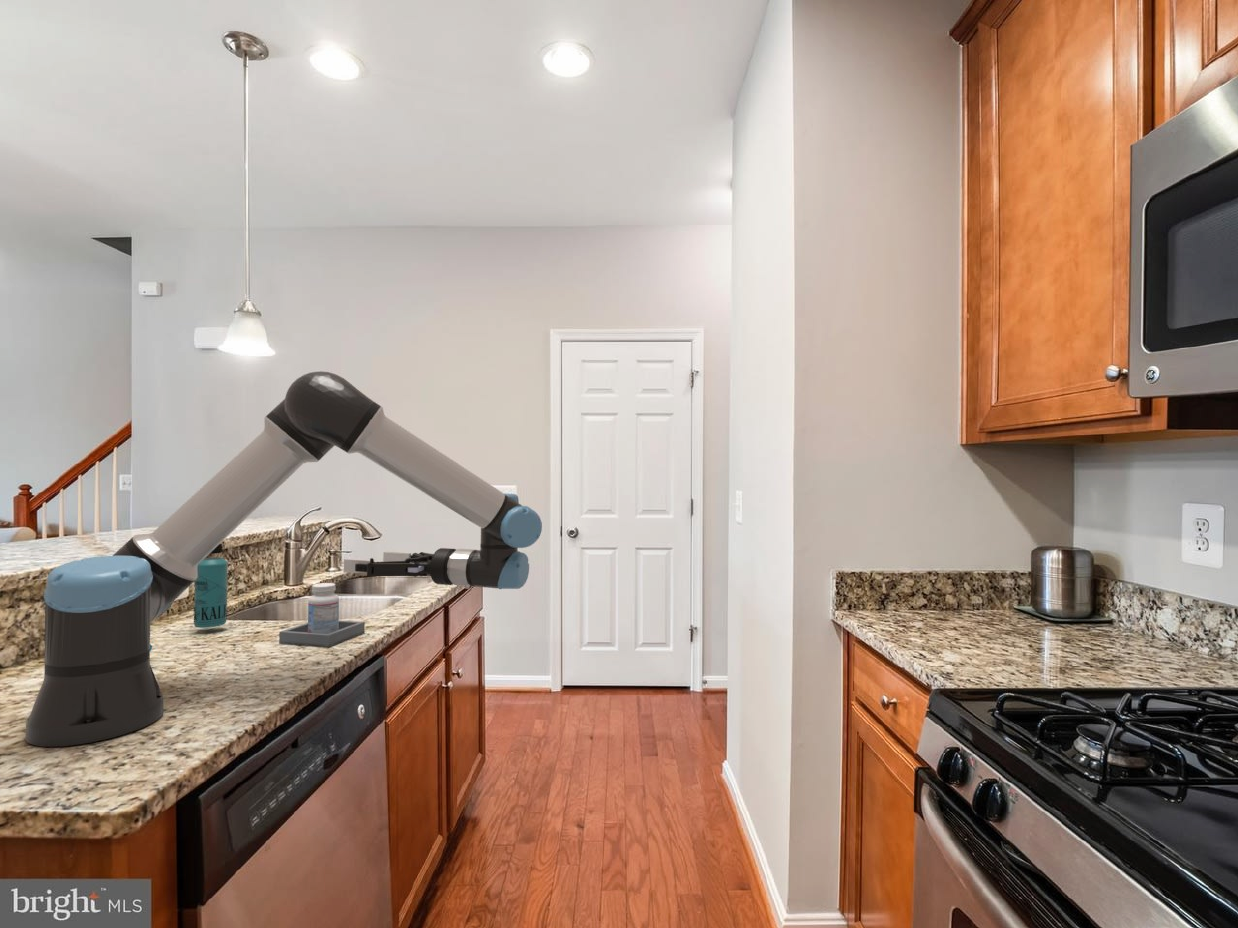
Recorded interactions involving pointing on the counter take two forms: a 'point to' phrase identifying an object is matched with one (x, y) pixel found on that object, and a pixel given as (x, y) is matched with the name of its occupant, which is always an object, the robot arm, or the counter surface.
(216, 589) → the beverage bottle
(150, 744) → the counter surface
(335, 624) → the pill bottle
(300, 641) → the tray
